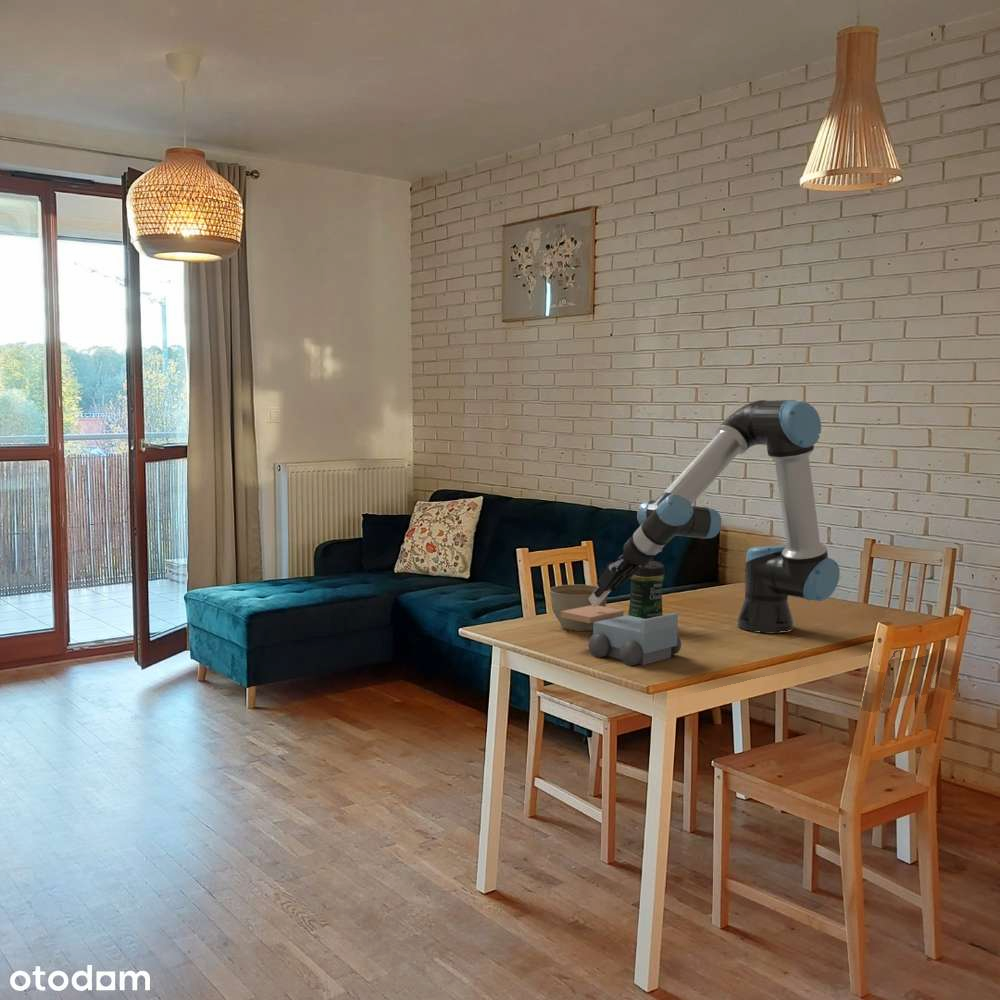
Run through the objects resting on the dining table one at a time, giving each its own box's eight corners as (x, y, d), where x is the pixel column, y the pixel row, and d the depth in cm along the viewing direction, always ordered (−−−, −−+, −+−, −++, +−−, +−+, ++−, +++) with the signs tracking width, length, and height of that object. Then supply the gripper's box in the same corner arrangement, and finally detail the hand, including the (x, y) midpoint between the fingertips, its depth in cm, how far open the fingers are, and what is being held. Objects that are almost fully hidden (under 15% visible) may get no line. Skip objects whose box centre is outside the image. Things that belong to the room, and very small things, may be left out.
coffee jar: (643, 632, 277) (644, 564, 275) (623, 626, 283) (624, 560, 281) (668, 627, 283) (670, 561, 281) (647, 622, 289) (649, 558, 287)
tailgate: (623, 610, 261) (594, 604, 268) (590, 617, 252) (560, 611, 259) (623, 617, 261) (594, 611, 268) (590, 624, 252) (560, 618, 259)
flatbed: (681, 656, 250) (682, 612, 249) (638, 667, 239) (639, 621, 238) (630, 644, 262) (631, 602, 261) (587, 655, 250) (588, 611, 249)
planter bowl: (575, 619, 292) (576, 582, 291) (618, 628, 280) (619, 590, 279) (536, 627, 281) (537, 588, 280) (579, 637, 269) (580, 597, 268)
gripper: (635, 559, 240) (582, 617, 253) (669, 554, 248) (617, 610, 262) (618, 535, 243) (567, 594, 257) (653, 530, 252) (601, 587, 266)
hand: (592, 602), depth 260 cm, fingers closed
